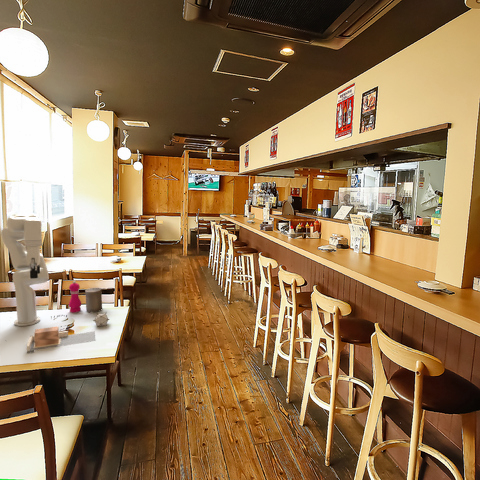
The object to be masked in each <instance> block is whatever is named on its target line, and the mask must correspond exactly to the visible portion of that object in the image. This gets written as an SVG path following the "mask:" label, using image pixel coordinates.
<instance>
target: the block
mask: <svg viewBox="0 0 480 480" xmlns="http://www.w3.org/2000/svg"><path fill="white" fill-rule="evenodd" d="M59 329H60V328H59V326H58V325H57V326H52V327H51V326H50V327H44V328H36V329H35V330H34V335H35V347H37V346H44V345H50V344H57V343H59V332H60V331H59Z"/></svg>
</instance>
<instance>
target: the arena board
mask: <svg viewBox="0 0 480 480" xmlns="http://www.w3.org/2000/svg"><path fill="white" fill-rule="evenodd" d="M96 340H97V339H96V332H95V331H89V332H80V333H74V334H69V330H65V331H64V330H63V331H59V343H57V344H50V345H44V346H37V347H35V334H34V335H30V336H29V338H28V341H27V344H26V353H27V354H31V353H34V352H35V351H36V350H37V351H39V350H44V349H50V348H51V349H52V348H57V347H63V346H69V345H70V346H71V345H76V344H83V343H90V342H95V341H96ZM30 352H31V353H30Z"/></svg>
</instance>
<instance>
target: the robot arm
mask: <svg viewBox="0 0 480 480" xmlns="http://www.w3.org/2000/svg"><path fill="white" fill-rule="evenodd" d="M0 234H1V240H2V242H3V244H4V246H5V247H6V249H7V250H8V252H9V255H10V259H11V265H12V266H13V267H12V268H13V269H14V270H16V271H14V272H13V274H12V282H13V286H14V290H15V302H16V304H15V305H16V318H17V319H16V320H14V322H13V323H14V325H15V326H17V327H25V326H32V325H35V324H37V323H39V322H41V318H40V317H39V316H38V315H37V296H36V291H35V289H34V288H33V287H32V286H33V285H41V284H45V283H47V282H48V281H49V277H50V276H49V271H48V267H47V264H46V261H45V258H44V255H43V254H42V253H41V247H42V246H43V237H42V236H43V234H42V221H41V220H40V218H39V217H38V215H37V214H35V213H14V214H12V215H11V216H9V217H8V218H7V220H6V227H4V228H2V230H1V232H0ZM23 240H24V244H23V243H21V242H19V241H23Z"/></svg>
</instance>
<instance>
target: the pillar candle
mask: <svg viewBox="0 0 480 480" xmlns="http://www.w3.org/2000/svg"><path fill="white" fill-rule="evenodd" d="M84 291H85V293H84V294H85V309H86V312H87V313H97V312H100V311H102V310H103V299H102V298H103V297H102V296H103V295H102V288H101V287H90V288H87V289H85V290H84ZM101 309H102V310H101ZM99 310H100V311H99ZM96 311H97V312H96Z"/></svg>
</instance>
